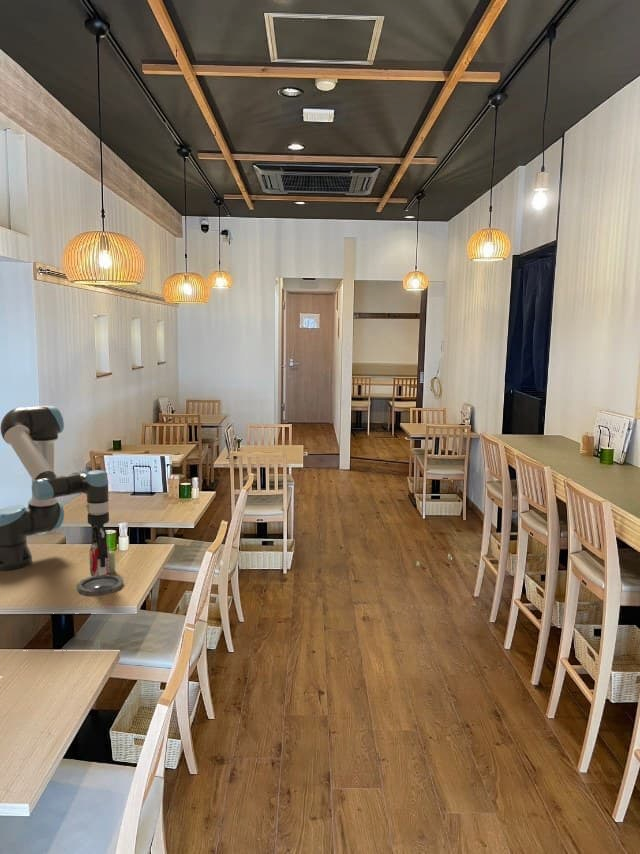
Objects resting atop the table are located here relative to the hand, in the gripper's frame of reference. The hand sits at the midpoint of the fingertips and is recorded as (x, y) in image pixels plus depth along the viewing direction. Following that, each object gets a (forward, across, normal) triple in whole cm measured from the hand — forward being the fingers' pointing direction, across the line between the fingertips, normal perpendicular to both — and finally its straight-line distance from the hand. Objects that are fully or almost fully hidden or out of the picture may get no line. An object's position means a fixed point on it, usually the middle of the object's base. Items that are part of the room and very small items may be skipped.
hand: (100, 571), depth 229 cm
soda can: (+2, 0, 0) cm, 2 cm away
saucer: (+6, 0, 0) cm, 6 cm away
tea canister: (+6, -13, +6) cm, 16 cm away
